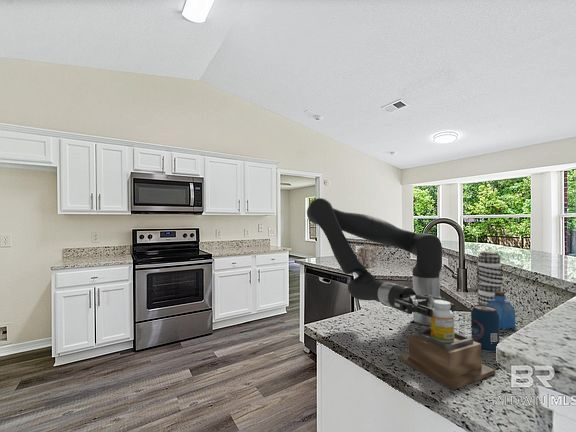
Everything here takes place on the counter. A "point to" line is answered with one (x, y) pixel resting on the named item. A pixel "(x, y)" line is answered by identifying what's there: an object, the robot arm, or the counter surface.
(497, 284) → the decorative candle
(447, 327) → the supplement bottle
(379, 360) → the counter surface
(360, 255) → the decorative jar
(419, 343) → the display pedestal
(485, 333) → the soda can
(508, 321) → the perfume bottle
